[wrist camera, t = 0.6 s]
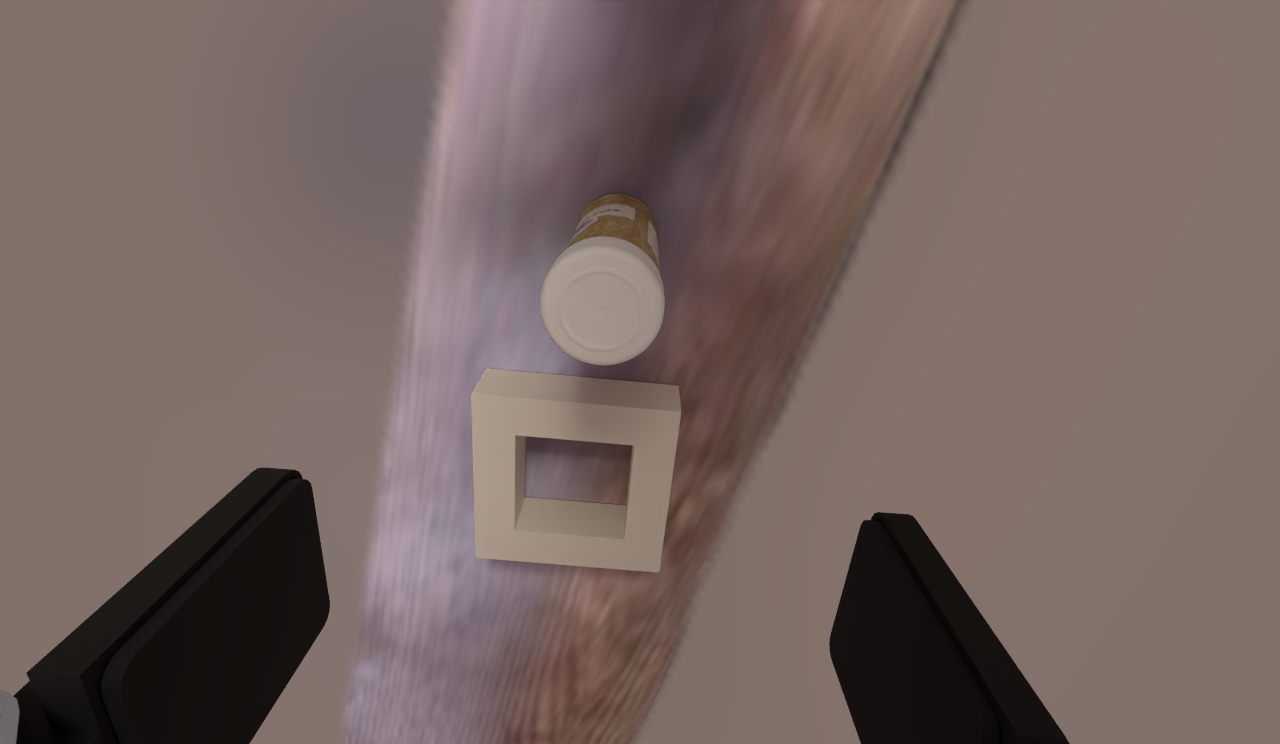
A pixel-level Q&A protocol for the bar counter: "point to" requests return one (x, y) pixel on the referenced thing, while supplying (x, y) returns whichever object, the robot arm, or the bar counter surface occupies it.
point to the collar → (581, 414)
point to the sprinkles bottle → (606, 284)
